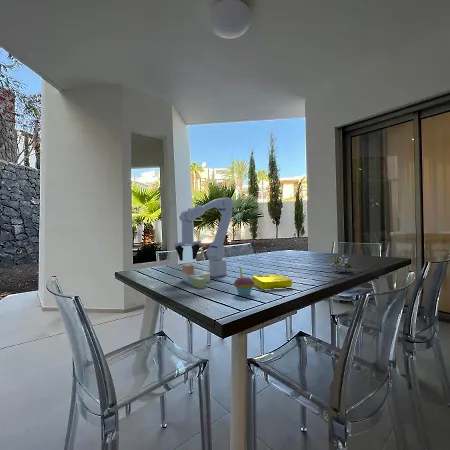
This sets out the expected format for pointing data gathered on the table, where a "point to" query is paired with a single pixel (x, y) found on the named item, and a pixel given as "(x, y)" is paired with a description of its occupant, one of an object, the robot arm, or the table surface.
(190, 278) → the blue brick
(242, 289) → the cupcake
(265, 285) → the element tile
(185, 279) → the grey brick
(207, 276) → the cream brick
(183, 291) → the table surface
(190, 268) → the terracotta brick
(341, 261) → the passion flower
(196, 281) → the olive brick
